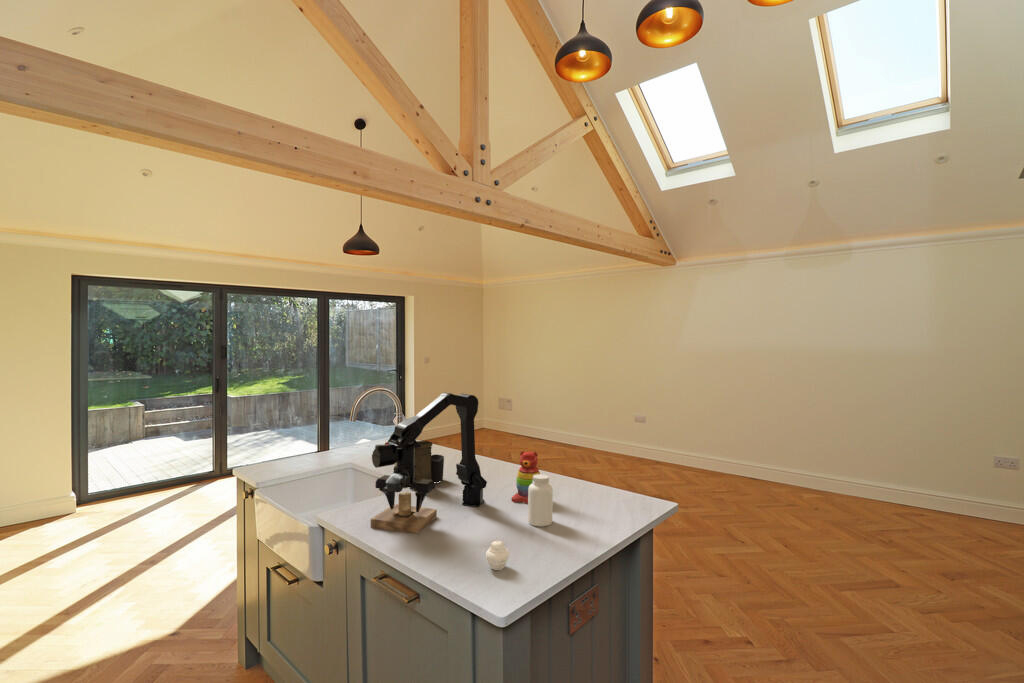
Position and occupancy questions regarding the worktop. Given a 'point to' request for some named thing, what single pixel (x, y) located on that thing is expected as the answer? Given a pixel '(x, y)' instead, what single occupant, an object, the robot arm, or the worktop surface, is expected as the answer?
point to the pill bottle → (540, 501)
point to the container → (422, 461)
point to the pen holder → (437, 467)
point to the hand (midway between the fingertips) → (404, 510)
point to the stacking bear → (525, 475)
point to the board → (404, 519)
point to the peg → (404, 505)
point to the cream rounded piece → (497, 555)
